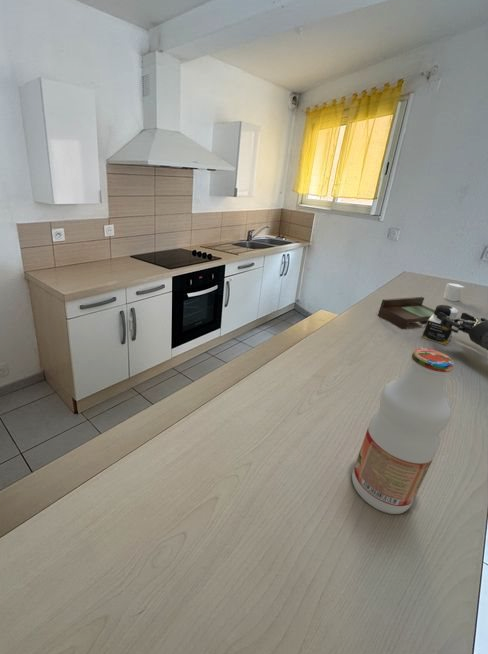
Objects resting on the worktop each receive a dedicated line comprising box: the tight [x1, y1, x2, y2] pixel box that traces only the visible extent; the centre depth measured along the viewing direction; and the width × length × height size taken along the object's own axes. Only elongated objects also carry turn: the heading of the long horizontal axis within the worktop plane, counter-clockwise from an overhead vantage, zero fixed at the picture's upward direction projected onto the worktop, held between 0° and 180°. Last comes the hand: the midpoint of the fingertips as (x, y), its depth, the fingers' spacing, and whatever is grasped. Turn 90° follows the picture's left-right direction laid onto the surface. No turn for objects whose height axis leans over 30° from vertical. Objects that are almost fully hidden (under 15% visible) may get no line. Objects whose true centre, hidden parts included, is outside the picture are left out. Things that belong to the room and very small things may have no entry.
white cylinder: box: [442, 282, 466, 302], centre depth 150 cm, size 7×7×7 cm
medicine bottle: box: [421, 304, 459, 346], centre depth 111 cm, size 7×7×12 cm
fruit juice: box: [351, 347, 455, 515], centre depth 52 cm, size 9×9×28 cm
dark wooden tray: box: [377, 296, 435, 330], centre depth 126 cm, size 20×12×7 cm, turn 105°
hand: (450, 315), depth 108 cm, fingers open, 8 cm apart
